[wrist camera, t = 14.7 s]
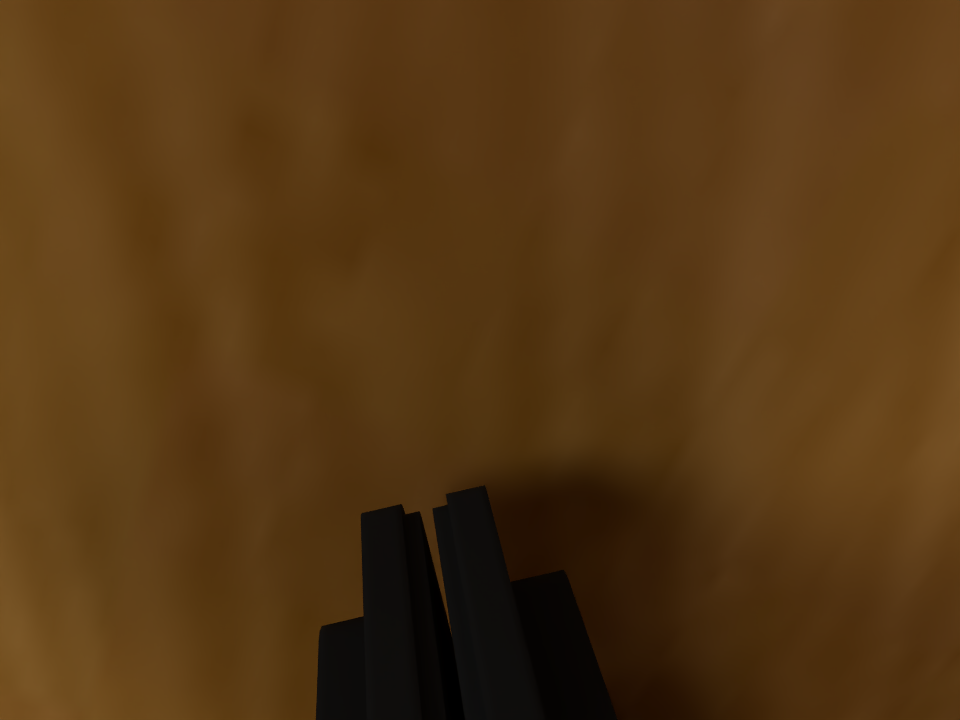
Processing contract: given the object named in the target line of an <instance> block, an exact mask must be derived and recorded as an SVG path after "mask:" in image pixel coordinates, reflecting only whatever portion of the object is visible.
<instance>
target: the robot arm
mask: <svg viewBox="0 0 960 720" xmlns="http://www.w3.org/2000/svg"><path fill="white" fill-rule="evenodd" d="M446 498H447V503H448V505H445V506H441V507H436V508H433V516H434V522H435V529H436V535H437V542H438V548H439V555H440V561H441V568H442V574H443V581H444V587H445V593H446V600H447V606H448V613H449V619H450V626H451V631H450V627H449V623H448V619H447V615H446V612H445V608H444V604H443V600H442V596H441V592H440V588H439V584H438V580H437V576H436V572H435V568H434V564H433V560H432V556H431V552H430V548H429V545H428V541H427V537H426V533H425V529H424V525H423V521H422V517H421V514H420V512H414V513H410V514H406V515H405V512H404V508H403V506H402V504H400V505H396V506H391V507H387V508H382V509H378V510H374V511H369V512H365V513H362V514H361V541H362V575H363V609H364V616H363V617H359V618H355V619H350V620H346V621H342V622H338V623H333V624H329V625H325V626H322V627H321V630H320V634H319V649H318V677H317V705H316V720H617V717H616V714H615V711H614V709H613V706H612V703H611V700H610V697H609V694H608V691H607V688H606V686H605V683H604V680H603V677H602V674H601V671H600V668H599V666H598V663H597V660H596V657H595V654H594V651H593V648H592V646H591V643H590V640H589V637H588V634H587V631H586V628H585V625H584V623H583V620H582V617H581V614H580V611H579V608H578V605H577V603H576V600H575V597H574V594H573V591H572V588H571V585H570V583H569V580H568V577H567V575H566V573H565V571H564V570H561V571H556V572H552V573H548V574H543V575H539V576H535V577H531V578H526V579H522V580H518V581H513V582H510V579H509V575H508V571H507V567H506V563H505V559H504V556H503V552H502V548H501V544H500V540H499V536H498V532H497V528H496V525H495V521H494V517H493V513H492V509H491V505H490V501H489V497H488V494H487V490H486V486H485V485H484V486H479V487H475V488H471V489H466V490H462V491H457V492H453V493H449V494H446ZM451 632H452V635H451Z"/></svg>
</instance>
